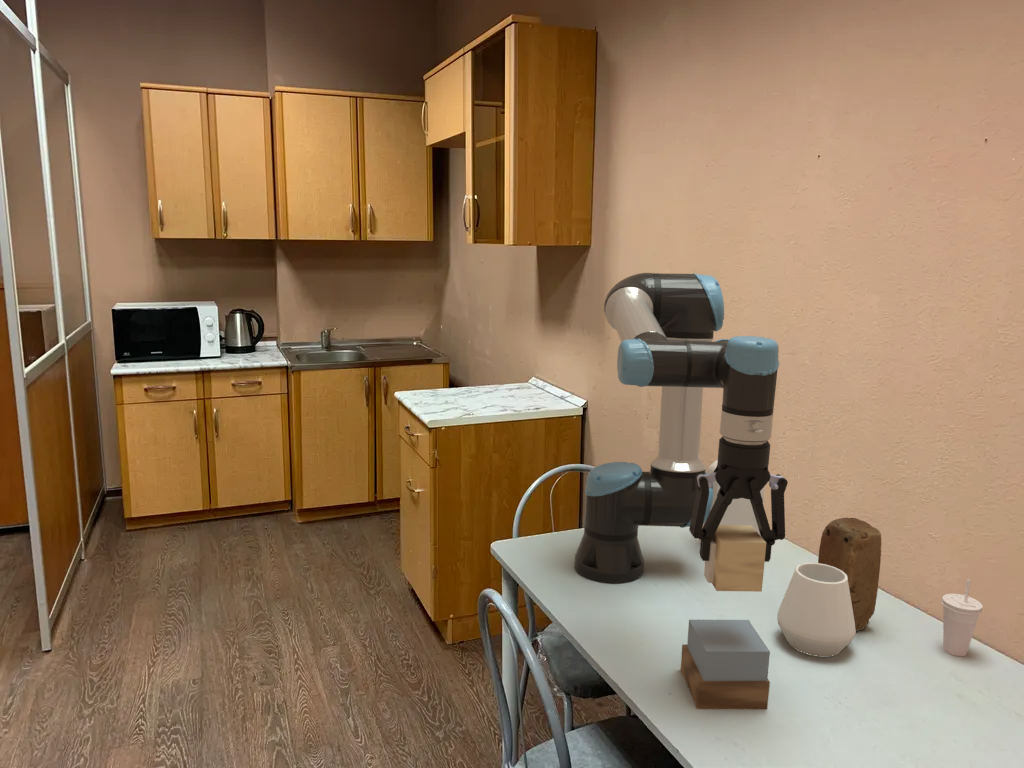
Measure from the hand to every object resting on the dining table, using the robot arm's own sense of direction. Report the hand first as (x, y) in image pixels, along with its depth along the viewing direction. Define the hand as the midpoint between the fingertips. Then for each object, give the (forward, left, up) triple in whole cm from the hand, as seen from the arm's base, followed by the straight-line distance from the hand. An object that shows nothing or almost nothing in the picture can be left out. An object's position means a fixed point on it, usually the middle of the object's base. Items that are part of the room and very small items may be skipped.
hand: (732, 579), depth 122 cm
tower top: (0, 0, -15) cm, 15 cm away
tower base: (-1, 0, -20) cm, 20 cm away
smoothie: (-13, +46, -20) cm, 52 cm away
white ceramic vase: (-15, +21, -20) cm, 32 cm away
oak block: (0, 0, 0) cm, 0 cm away
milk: (-57, +18, -20) cm, 63 cm away
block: (-24, +30, -20) cm, 43 cm away
